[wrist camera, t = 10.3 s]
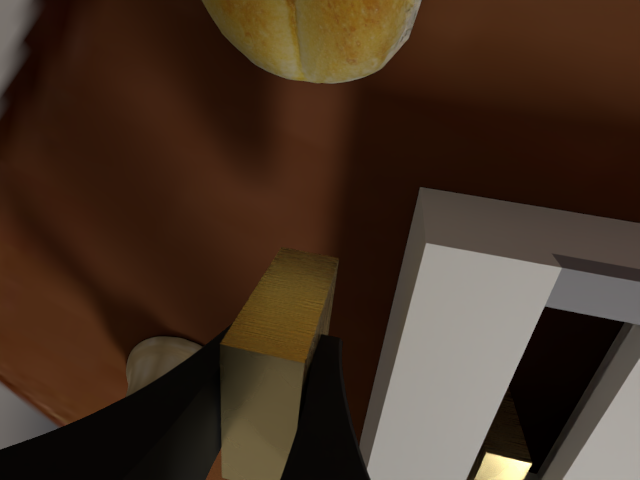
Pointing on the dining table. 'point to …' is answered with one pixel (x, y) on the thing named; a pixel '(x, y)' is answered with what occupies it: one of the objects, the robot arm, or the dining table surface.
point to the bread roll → (316, 35)
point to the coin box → (501, 337)
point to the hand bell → (156, 359)
